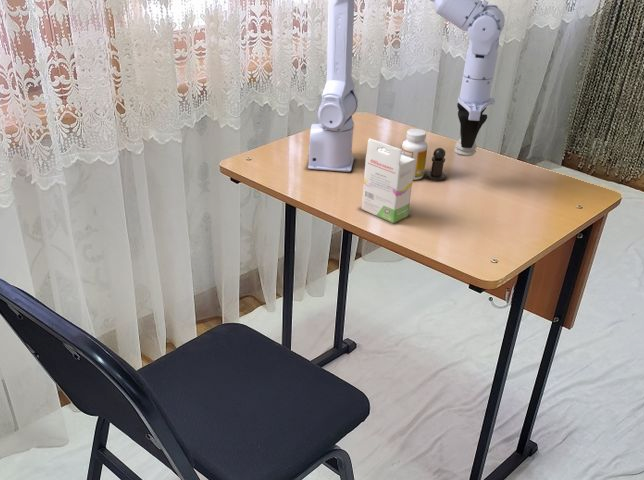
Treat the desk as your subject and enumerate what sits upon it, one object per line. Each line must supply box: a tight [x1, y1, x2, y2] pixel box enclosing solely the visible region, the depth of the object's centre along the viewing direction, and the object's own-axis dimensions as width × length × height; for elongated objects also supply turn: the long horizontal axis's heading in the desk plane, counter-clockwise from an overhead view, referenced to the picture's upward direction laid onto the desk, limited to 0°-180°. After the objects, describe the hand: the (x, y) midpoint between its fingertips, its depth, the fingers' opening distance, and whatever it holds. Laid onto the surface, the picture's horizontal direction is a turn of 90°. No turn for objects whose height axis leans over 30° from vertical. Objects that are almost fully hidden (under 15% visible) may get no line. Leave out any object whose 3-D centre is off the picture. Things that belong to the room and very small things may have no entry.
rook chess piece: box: [453, 136, 478, 157], centre depth 149 cm, size 4×4×8 cm
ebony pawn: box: [426, 147, 446, 182], centre depth 157 cm, size 4×4×7 cm
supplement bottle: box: [401, 128, 429, 181], centre depth 156 cm, size 5×5×10 cm
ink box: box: [361, 137, 415, 224], centre depth 141 cm, size 9×5×15 cm, turn 42°
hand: (466, 143), depth 150 cm, fingers closed on rook chess piece, 3 cm apart
